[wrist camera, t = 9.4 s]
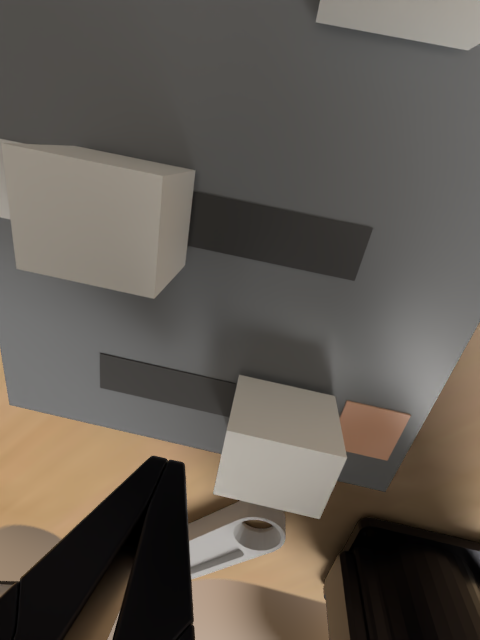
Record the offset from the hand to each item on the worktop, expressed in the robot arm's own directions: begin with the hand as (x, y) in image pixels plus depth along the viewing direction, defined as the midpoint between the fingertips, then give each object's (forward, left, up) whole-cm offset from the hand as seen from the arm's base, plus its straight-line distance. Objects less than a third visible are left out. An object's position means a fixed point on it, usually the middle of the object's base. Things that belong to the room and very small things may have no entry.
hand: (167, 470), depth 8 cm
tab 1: (+2, -5, -3) cm, 7 cm away
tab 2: (-3, 0, -3) cm, 4 cm away
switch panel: (0, -5, -5) cm, 7 cm away
